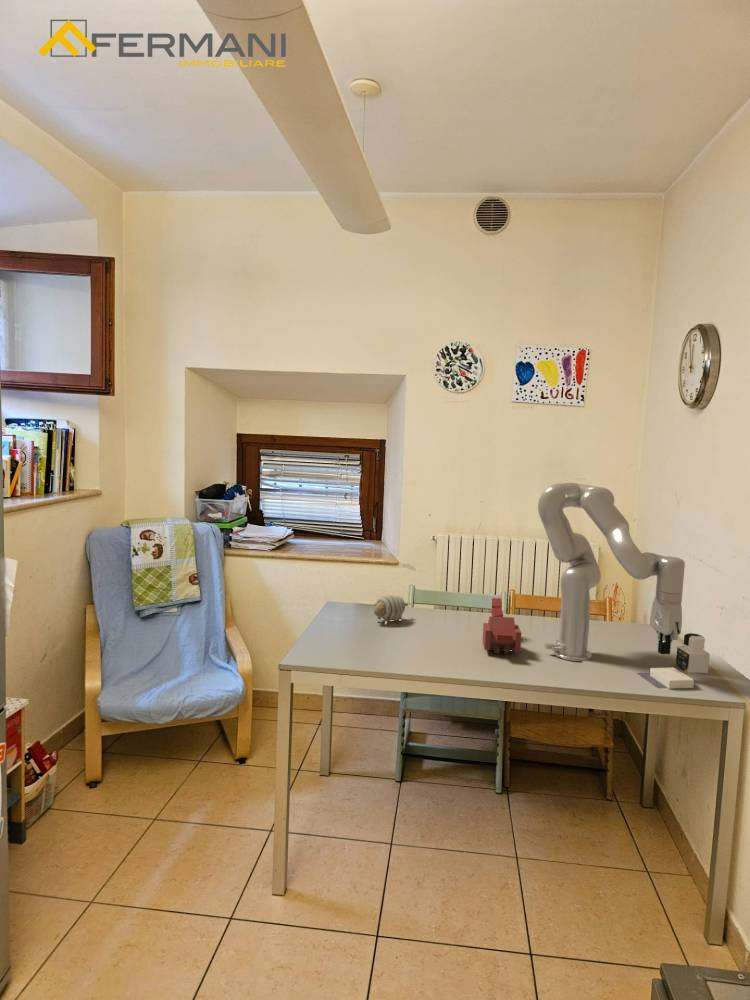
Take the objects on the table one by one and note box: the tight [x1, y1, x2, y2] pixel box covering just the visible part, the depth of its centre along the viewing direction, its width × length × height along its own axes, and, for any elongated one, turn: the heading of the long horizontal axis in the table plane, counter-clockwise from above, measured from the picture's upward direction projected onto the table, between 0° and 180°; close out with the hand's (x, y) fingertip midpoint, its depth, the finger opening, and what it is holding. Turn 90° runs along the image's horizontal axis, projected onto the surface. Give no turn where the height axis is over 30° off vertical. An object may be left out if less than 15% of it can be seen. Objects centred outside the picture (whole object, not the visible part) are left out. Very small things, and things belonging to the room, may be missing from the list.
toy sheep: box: [373, 593, 409, 622], centre depth 247 cm, size 11×17×11 cm, turn 135°
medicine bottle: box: [675, 632, 711, 674], centre depth 205 cm, size 7×7×12 cm
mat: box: [636, 672, 701, 689], centre depth 195 cm, size 14×12×1 cm
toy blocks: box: [481, 597, 522, 655], centre depth 222 cm, size 12×20×25 cm
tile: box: [649, 667, 695, 690], centre depth 193 cm, size 8×3×10 cm
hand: (663, 653), depth 197 cm, fingers closed
